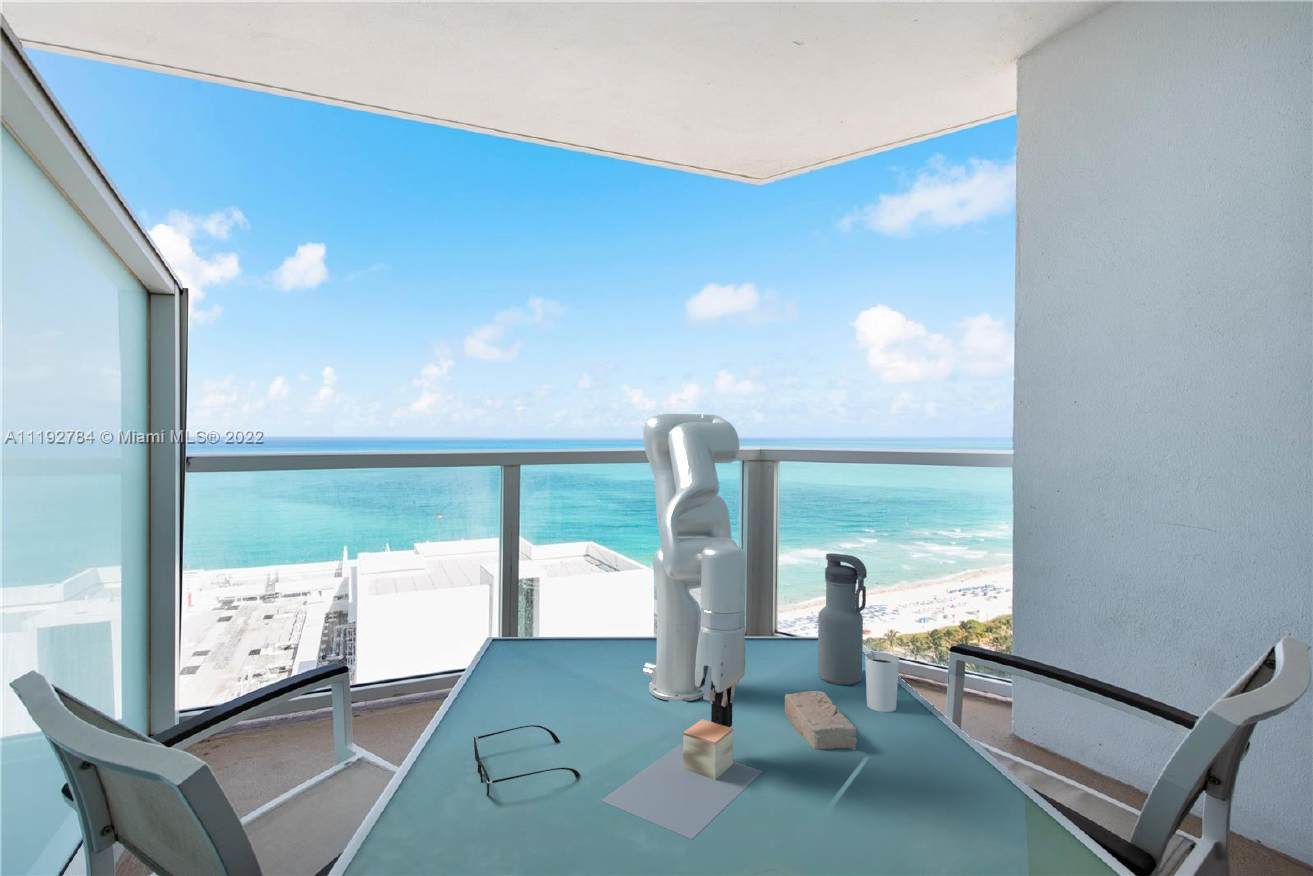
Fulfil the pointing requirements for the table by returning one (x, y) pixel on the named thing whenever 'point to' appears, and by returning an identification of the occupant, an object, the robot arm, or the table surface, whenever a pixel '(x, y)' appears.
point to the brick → (819, 720)
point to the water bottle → (842, 621)
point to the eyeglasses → (480, 767)
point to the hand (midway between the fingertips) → (721, 725)
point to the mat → (680, 793)
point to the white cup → (881, 681)
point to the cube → (708, 749)
